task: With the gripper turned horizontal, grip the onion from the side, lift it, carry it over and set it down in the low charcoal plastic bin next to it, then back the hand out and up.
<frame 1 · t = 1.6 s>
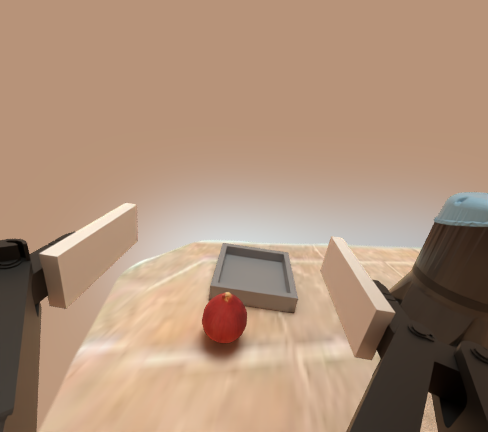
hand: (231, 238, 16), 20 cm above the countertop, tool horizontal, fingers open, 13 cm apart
onion: (222, 339, 33), on the countertop
bin: (252, 279, 45), on the countertop
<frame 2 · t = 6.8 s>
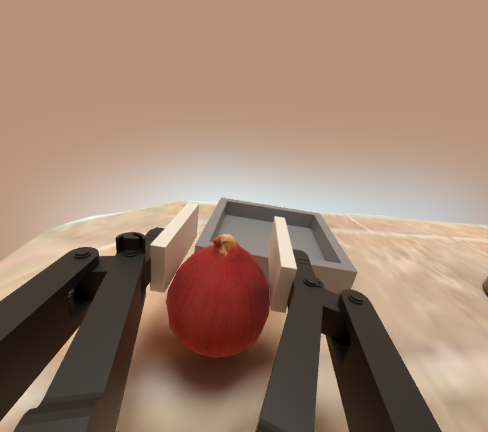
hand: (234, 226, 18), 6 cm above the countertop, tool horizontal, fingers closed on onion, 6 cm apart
onion: (212, 346, 15), on the countertop, touching gripper
bin: (267, 248, 28), on the countertop
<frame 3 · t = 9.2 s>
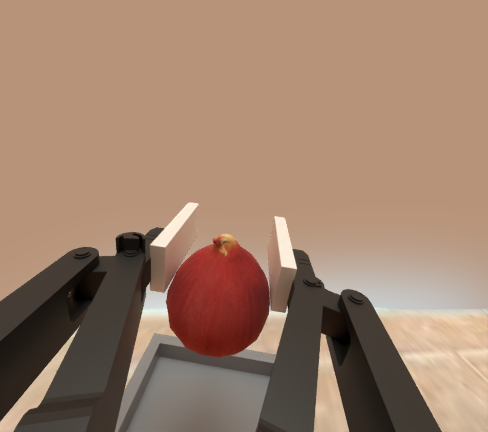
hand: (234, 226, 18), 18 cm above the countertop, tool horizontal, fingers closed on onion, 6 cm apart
onion: (213, 346, 15), point 12 cm above the countertop, touching gripper
when the fingers open (8 cm above the countertop, at t = 11.7 s): onion drops 1 cm, resting on bin.
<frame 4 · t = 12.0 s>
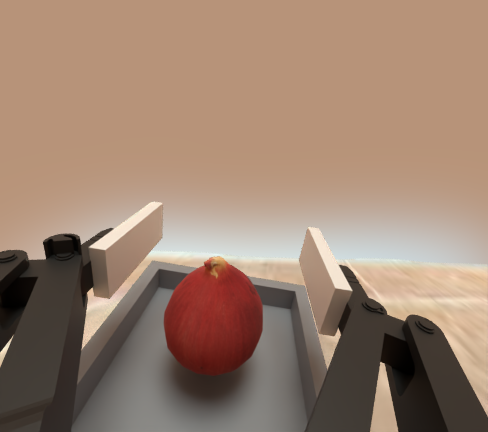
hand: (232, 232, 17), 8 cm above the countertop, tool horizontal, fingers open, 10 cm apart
onion: (212, 362, 16), point 1 cm above the countertop, touching bin
bin: (209, 370, 16), on the countertop
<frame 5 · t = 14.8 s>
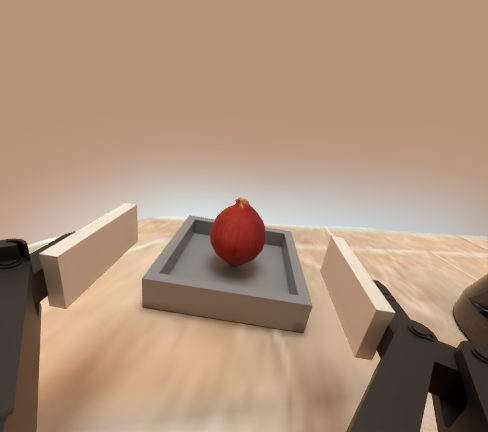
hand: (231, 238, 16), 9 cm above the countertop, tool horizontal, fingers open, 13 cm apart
onion: (233, 266, 26), point 1 cm above the countertop, touching bin
bin: (231, 272, 27), on the countertop
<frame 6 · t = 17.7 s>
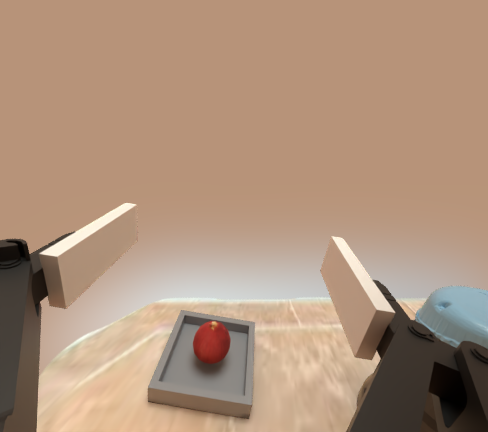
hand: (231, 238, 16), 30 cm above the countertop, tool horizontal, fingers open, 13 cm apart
onion: (209, 359, 39), point 1 cm above the countertop, touching bin
bin: (208, 362, 39), on the countertop
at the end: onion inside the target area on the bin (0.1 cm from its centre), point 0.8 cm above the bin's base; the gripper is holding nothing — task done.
